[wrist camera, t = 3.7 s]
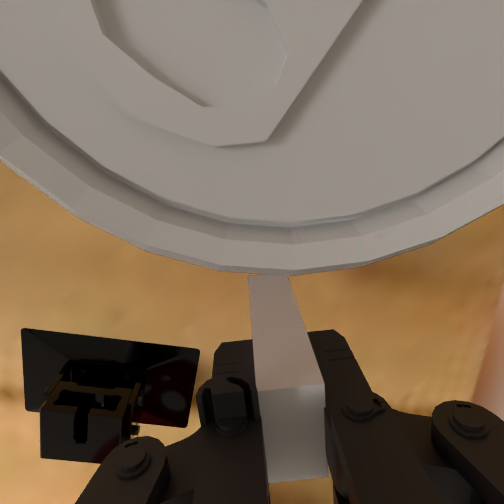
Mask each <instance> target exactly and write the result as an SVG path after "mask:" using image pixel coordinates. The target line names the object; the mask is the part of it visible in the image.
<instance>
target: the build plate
mask: <svg viewBox="0 0 504 504" xmlns="http://www.w3.org/2000/svg"><path fill="white" fill-rule="evenodd" d="M21 341H22V359H23V376H24V394H25V409H26V410H27V411H31V412H40V457H41V458H46V459H56V460H67V461H77V462H88V463H99V464H101V463H102V462H103V460H104V459H105V458H106V457H107V456H108V454H109V453H110V452H111V451H112V450H113V449H114V448H116V447H117V446H119V445H120V444H122V443H123V442H125V441H127V440H130V439H133V438H134V436H135V435H137V436H138V435H139V431H140V426H139V425H138V424H139V423H143V424H152V425H162V426H171V427H180V428H186V427H187V425H188V419H189V413H190V408H191V402H192V396H193V390H194V384H195V379H196V373H197V367H198V361H199V356H200V350H199V349H195V348H186V347H178V346H170V345H161V344H153V343H145V342H136V341H128V340H120V339H111V338H103V337H94V336H86V335H78V334H69V333H61V332H53V331H44V330H36V329H28V328H23V329H21Z"/></svg>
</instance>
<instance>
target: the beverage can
mask: <svg viewBox="0 0 504 504" xmlns="http://www.w3.org/2000/svg"><path fill="white" fill-rule="evenodd" d="M0 160H1V161H2V162H3V163H4V164H5V165H6V166H8V167H9V168H10V169H12V170H13V171H14V172H16V173H17V174H18V175H20V176H21V177H23V178H24V179H25V180H27V181H28V182H29V183H31V184H32V185H33V186H35V187H36V188H37V189H39V190H40V191H42V192H43V193H44V194H46V195H47V196H48V197H50V198H51V199H52V200H54V201H55V202H57V203H58V204H59V205H61V206H62V207H63V208H65V209H66V210H67V211H69V212H70V213H72V214H73V215H74V216H76V217H77V218H79V219H81V220H83V221H85V222H87V223H90V224H92V225H94V226H96V227H98V228H100V229H102V230H104V231H106V232H108V233H110V234H112V235H114V236H116V237H118V238H120V239H122V240H124V241H127V242H129V243H131V244H133V245H135V246H137V247H139V248H141V249H143V250H145V251H147V252H150V253H154V254H158V255H161V256H165V257H169V258H173V259H176V260H180V261H184V262H187V263H191V264H195V265H199V266H202V267H206V268H210V269H213V270H217V271H226V272H240V273H255V274H269V275H284V276H294V275H302V274H310V273H318V272H326V271H334V270H342V269H349V268H357V267H363V266H366V265H369V264H372V263H375V262H378V261H381V260H384V259H387V258H390V257H393V256H396V255H399V254H402V253H406V252H409V251H412V250H415V249H418V248H421V247H424V246H427V245H430V244H432V243H434V242H436V241H438V240H440V239H441V238H443V237H445V236H447V235H449V234H451V233H452V232H454V231H456V230H458V229H460V228H462V227H464V226H465V225H467V224H469V223H471V222H473V221H475V220H476V219H478V218H480V217H482V216H484V215H486V214H488V213H489V212H491V211H493V210H495V209H497V208H499V207H500V206H502V205H503V204H504V0H0Z"/></svg>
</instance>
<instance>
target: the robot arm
mask: <svg viewBox="0 0 504 504" xmlns="http://www.w3.org/2000/svg"><path fill="white" fill-rule="evenodd" d="M248 285H249V299H250V312H251V325H252V339H251V340H242V341H233V342H223V343H221V345H220V346H219V347H218V349H217V350H216V351H215V353H214V361H213V371H212V378H211V379H209V380H208V381H206V382H205V383H204V384H203V385H202V386H201V387H200V388H199V390H198V392H197V394H196V401H197V407H198V412H199V418H200V423H201V427H200V428H199V429H198V431H196V432H195V433H194V434H192V435H191V436H189V437H187V438H185V439H183V440H181V441H179V442H176V443H174V444H171V445H168V446H166V447H165V446H164V444H163V443H162V442H161V441H160V440H159V439H157V438H153V437H150V436H143V437H135V438H133V439H130V440H127V441H125V442H123V443H122V444H120V445H119V446H117V447H116V448H114V449H113V450H112V451H111V452H110V453H109V454H108V456H107V457H106V458H105V459H104V460H103V462H102V463H101V465H100V466H99V468H98V469H97V471H96V472H95V474H94V475H93V477H92V478H91V480H90V481H89V483H88V484H87V486H86V488H85V489H84V491H83V492H82V494H81V495H80V497H79V498H78V500H77V501H76V503H75V504H271V502H270V494H269V484H268V483H277V482H286V481H295V480H304V479H313V478H322V477H329V473H328V465H329V469H330V473H331V476H332V480H333V497H334V504H504V421H503V420H501V419H500V418H499V417H497V416H496V415H495V414H493V413H492V412H490V411H488V410H487V409H485V408H484V407H481V406H479V405H476V404H473V403H470V402H465V401H457V400H454V401H447V402H443V403H441V404H439V405H438V406H436V407H435V409H434V411H433V413H432V417H429V416H422V415H414V414H408V413H404V412H399V411H397V410H394V409H392V408H391V407H390V405H389V404H388V403H387V402H386V401H385V399H384V398H382V397H381V396H379V395H377V394H376V393H374V392H372V390H371V388H370V386H369V384H368V382H367V380H366V378H365V377H364V375H363V373H362V371H361V369H360V367H359V365H358V363H357V361H356V359H355V358H354V355H353V353H352V351H351V350H350V347H349V345H348V343H347V342H346V340H345V338H344V337H343V336H342V335H340V334H339V333H338V332H336V331H335V330H334V329H332V330H323V331H314V332H307V331H306V328H305V325H304V322H303V320H302V317H301V314H300V311H299V308H298V305H297V302H296V299H295V296H294V293H293V290H292V288H291V285H290V282H289V279H288V276H284V275H269V274H264V275H255V276H248Z"/></svg>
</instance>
